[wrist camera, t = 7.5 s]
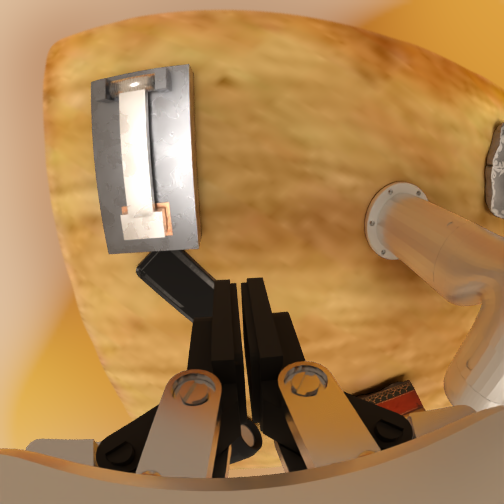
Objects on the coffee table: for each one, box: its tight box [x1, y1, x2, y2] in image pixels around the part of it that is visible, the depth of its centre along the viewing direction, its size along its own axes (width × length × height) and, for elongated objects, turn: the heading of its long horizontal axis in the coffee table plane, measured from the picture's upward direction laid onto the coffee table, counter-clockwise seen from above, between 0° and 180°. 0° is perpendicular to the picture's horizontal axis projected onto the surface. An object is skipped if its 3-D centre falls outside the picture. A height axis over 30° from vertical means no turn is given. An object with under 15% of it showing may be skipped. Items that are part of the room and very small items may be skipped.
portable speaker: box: [230, 419, 262, 464], centre depth 54 cm, size 26×10×10 cm, turn 129°
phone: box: [136, 250, 215, 323], centre depth 42 cm, size 8×1×15 cm
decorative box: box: [357, 380, 425, 417], centre depth 53 cm, size 20×22×16 cm
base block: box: [91, 64, 202, 254], centre depth 31 cm, size 22×12×8 cm, turn 1°
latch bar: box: [109, 73, 167, 240], centre depth 28 cm, size 18×5×2 cm, turn 1°
